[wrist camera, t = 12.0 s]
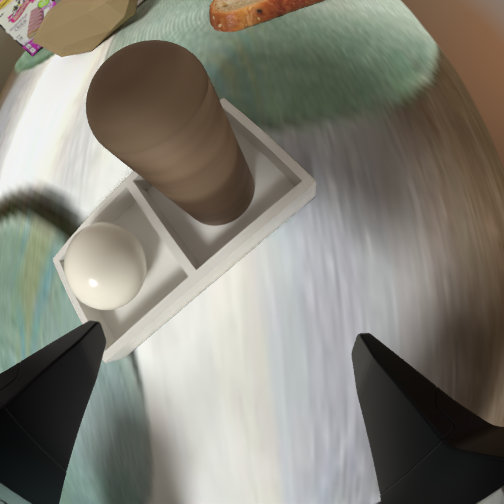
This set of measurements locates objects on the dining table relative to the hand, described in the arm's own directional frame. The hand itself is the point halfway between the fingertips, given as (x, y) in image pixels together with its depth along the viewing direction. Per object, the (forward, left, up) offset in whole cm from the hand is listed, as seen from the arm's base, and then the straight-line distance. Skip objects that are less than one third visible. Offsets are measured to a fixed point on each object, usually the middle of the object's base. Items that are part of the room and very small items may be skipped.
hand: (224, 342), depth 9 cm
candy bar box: (+62, 0, -9) cm, 62 cm away
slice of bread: (+25, -26, -10) cm, 37 cm away
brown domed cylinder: (+9, -3, -8) cm, 12 cm away
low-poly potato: (+41, -6, -9) cm, 42 cm away
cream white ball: (+9, +5, -8) cm, 13 cm away
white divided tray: (+9, +1, -9) cm, 12 cm away
